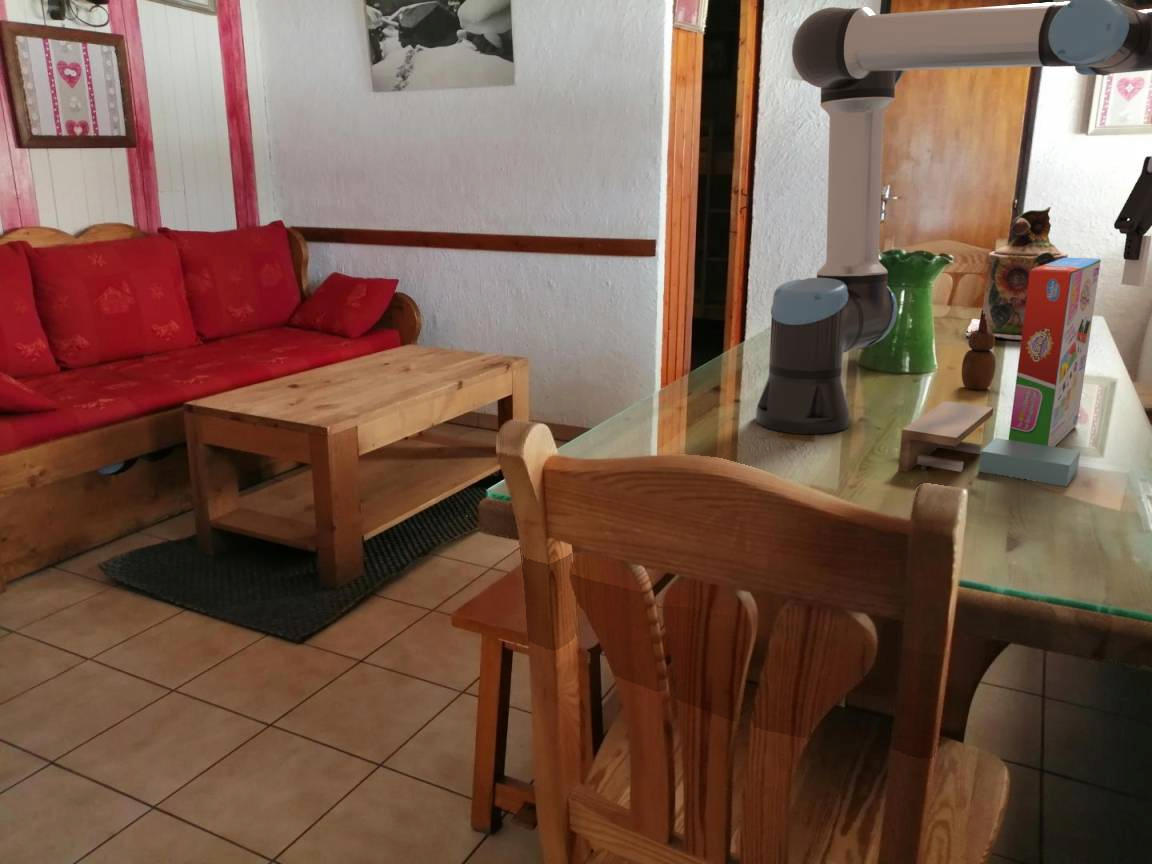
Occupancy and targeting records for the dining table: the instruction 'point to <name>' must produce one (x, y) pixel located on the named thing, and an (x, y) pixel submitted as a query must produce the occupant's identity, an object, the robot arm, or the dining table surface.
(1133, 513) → the dining table surface
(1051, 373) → the game box
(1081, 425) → the dining table surface
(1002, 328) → the cookie jar
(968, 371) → the wooden figurine
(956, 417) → the overhang
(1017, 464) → the slate blue rectangular box
